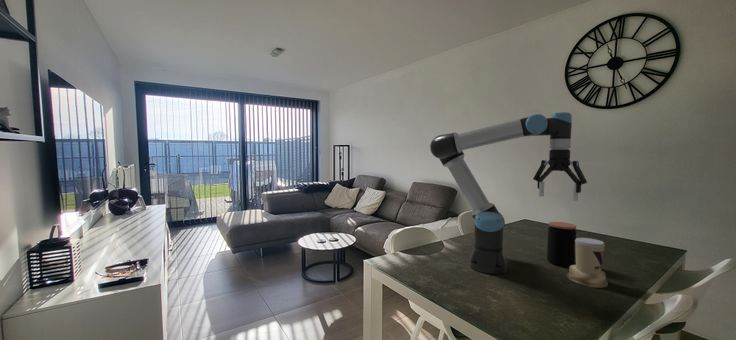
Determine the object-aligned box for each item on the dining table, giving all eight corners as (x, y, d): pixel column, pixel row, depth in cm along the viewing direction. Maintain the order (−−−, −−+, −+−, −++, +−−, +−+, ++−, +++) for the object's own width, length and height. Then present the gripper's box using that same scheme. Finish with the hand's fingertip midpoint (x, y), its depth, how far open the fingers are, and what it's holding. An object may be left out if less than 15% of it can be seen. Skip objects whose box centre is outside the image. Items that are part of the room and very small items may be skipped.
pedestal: (569, 283, 112) (569, 272, 112) (564, 271, 124) (565, 262, 124) (612, 290, 106) (612, 280, 106) (603, 277, 118) (603, 267, 117)
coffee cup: (599, 277, 108) (601, 245, 107) (570, 269, 115) (571, 239, 115) (606, 271, 114) (608, 241, 113) (578, 264, 121) (579, 236, 120)
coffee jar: (579, 268, 127) (581, 227, 126) (552, 266, 129) (554, 226, 128) (567, 259, 137) (569, 222, 136) (543, 258, 140) (544, 221, 139)
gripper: (598, 149, 116) (595, 201, 117) (535, 149, 137) (533, 194, 138) (590, 148, 112) (587, 203, 113) (526, 149, 133) (524, 195, 134)
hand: (557, 198), depth 126 cm, fingers open, 13 cm apart
